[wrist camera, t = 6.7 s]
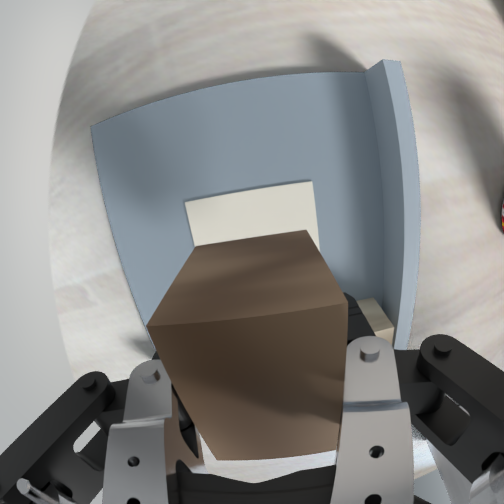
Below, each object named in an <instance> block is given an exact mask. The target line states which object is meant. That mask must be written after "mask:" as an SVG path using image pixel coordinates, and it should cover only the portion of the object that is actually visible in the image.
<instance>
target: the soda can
mask: <svg viewBox="0 0 504 504" xmlns="http://www.w3.org/2000/svg"><path fill="white" fill-rule="evenodd" d="M502 227H503V232H504V199H503V203H502Z"/></svg>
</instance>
